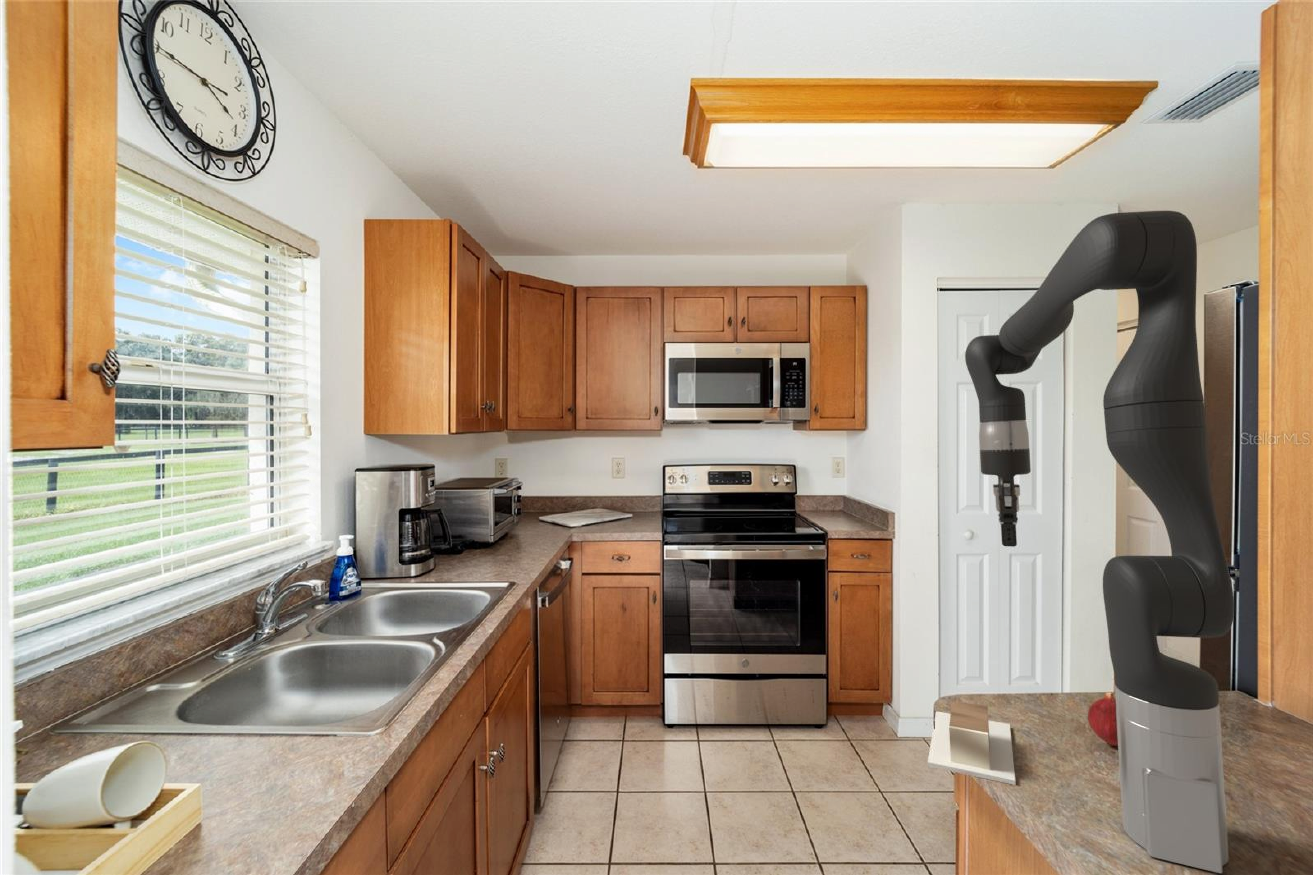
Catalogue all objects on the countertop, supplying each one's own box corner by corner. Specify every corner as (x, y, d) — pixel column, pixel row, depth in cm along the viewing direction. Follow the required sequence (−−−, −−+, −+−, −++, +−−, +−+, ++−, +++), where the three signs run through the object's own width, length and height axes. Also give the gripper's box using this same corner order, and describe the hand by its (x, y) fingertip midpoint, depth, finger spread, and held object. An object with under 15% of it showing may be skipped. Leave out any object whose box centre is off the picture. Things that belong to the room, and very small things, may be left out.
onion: (1144, 758, 84) (1141, 703, 85) (1098, 752, 86) (1095, 699, 86) (1127, 738, 90) (1124, 687, 90) (1083, 734, 92) (1080, 683, 92)
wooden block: (989, 738, 91) (990, 770, 82) (953, 731, 93) (950, 761, 84) (987, 706, 91) (988, 734, 82) (952, 700, 93) (949, 727, 84)
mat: (1015, 785, 79) (1015, 780, 79) (927, 766, 85) (927, 762, 85) (1009, 727, 95) (1009, 724, 95) (936, 714, 100) (936, 711, 100)
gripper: (1032, 447, 94) (1038, 553, 93) (1026, 446, 105) (1031, 540, 105) (979, 448, 97) (985, 551, 97) (979, 447, 109) (984, 539, 108)
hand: (1009, 545), depth 101 cm, fingers closed
